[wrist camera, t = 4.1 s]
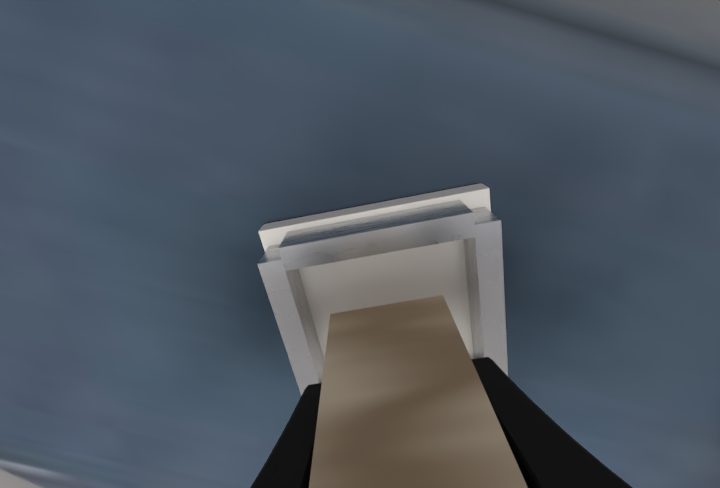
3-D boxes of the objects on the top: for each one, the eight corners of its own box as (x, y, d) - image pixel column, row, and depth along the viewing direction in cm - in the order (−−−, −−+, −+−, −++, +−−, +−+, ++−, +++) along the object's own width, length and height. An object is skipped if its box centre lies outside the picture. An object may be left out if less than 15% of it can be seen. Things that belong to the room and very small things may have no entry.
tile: (481, 183, 12) (489, 188, 12) (492, 360, 15) (499, 373, 15) (263, 223, 13) (258, 231, 12) (315, 388, 16) (313, 401, 15)
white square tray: (483, 195, 12) (500, 207, 10) (494, 370, 14) (509, 399, 13) (265, 235, 12) (253, 252, 11) (316, 397, 15) (312, 428, 14)
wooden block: (442, 294, 11) (578, 604, 4) (453, 382, 12) (567, 718, 5) (330, 313, 11) (290, 635, 4) (352, 397, 12) (347, 739, 6)
